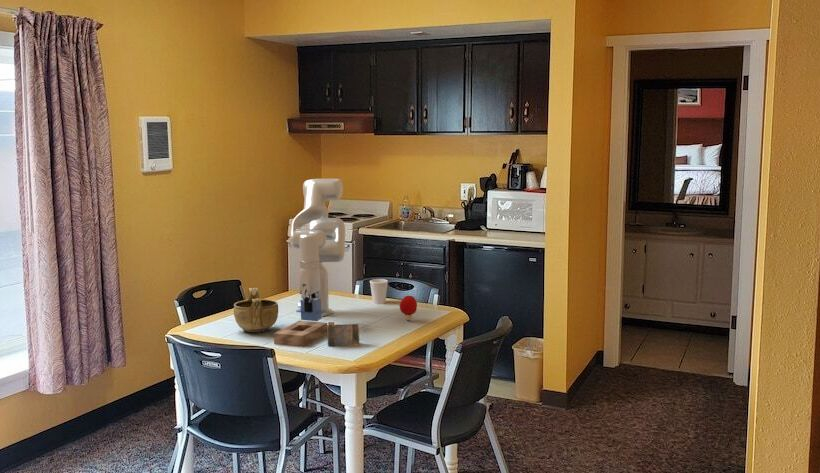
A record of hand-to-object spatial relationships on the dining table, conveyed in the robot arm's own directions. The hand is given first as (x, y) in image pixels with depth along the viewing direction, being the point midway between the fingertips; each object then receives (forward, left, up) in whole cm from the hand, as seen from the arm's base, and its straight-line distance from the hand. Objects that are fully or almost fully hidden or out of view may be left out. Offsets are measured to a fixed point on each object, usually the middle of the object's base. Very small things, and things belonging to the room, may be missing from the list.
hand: (311, 309), depth 311 cm
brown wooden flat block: (+4, -17, -7) cm, 19 cm away
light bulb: (+33, +21, -7) cm, 40 cm away
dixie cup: (+9, +49, -7) cm, 50 cm away
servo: (0, 0, -4) cm, 4 cm away
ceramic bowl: (-18, -12, -7) cm, 22 cm away
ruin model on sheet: (+23, -20, -8) cm, 31 cm away
